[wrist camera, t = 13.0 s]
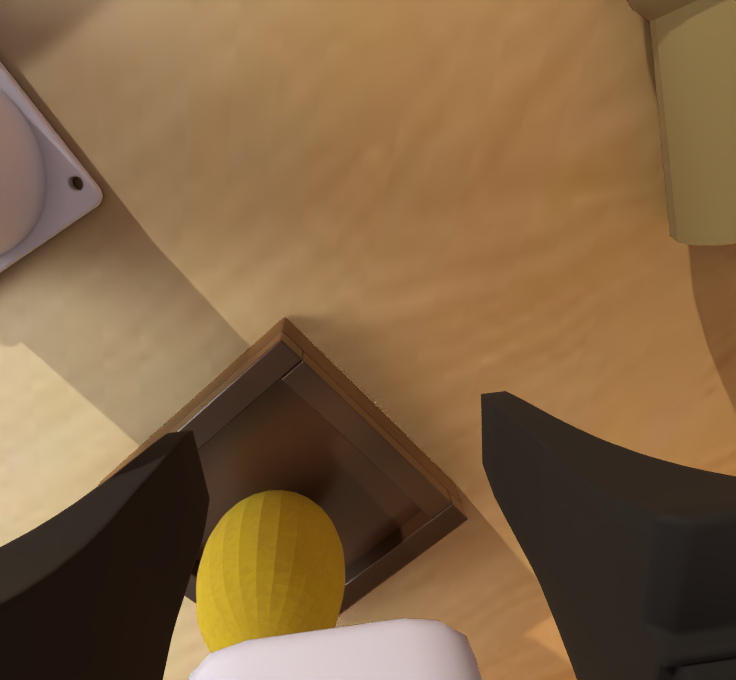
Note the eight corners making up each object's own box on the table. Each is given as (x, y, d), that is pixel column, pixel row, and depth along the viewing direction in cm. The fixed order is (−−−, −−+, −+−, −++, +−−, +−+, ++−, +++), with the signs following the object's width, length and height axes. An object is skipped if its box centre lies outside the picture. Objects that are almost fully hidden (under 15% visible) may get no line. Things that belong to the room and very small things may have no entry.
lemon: (365, 495, 24) (386, 655, 17) (290, 572, 25) (278, 752, 18) (267, 431, 22) (242, 576, 15) (192, 515, 24) (134, 689, 16)
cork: (831, 161, 21) (784, -163, 17) (912, 198, 16) (870, -247, 12) (660, 215, 23) (590, -53, 20) (682, 261, 18) (594, -84, 15)
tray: (100, 481, 25) (74, 522, 22) (284, 315, 23) (280, 339, 20) (282, 612, 29) (278, 660, 26) (453, 481, 26) (468, 519, 24)
